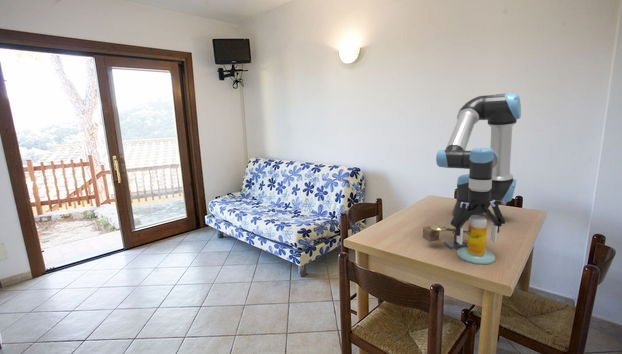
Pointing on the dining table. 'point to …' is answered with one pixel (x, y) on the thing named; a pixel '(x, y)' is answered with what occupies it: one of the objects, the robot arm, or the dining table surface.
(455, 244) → the balance
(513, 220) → the dining table surface
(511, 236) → the dining table surface
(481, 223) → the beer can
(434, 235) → the walnut block
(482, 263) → the dish
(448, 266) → the dining table surface
